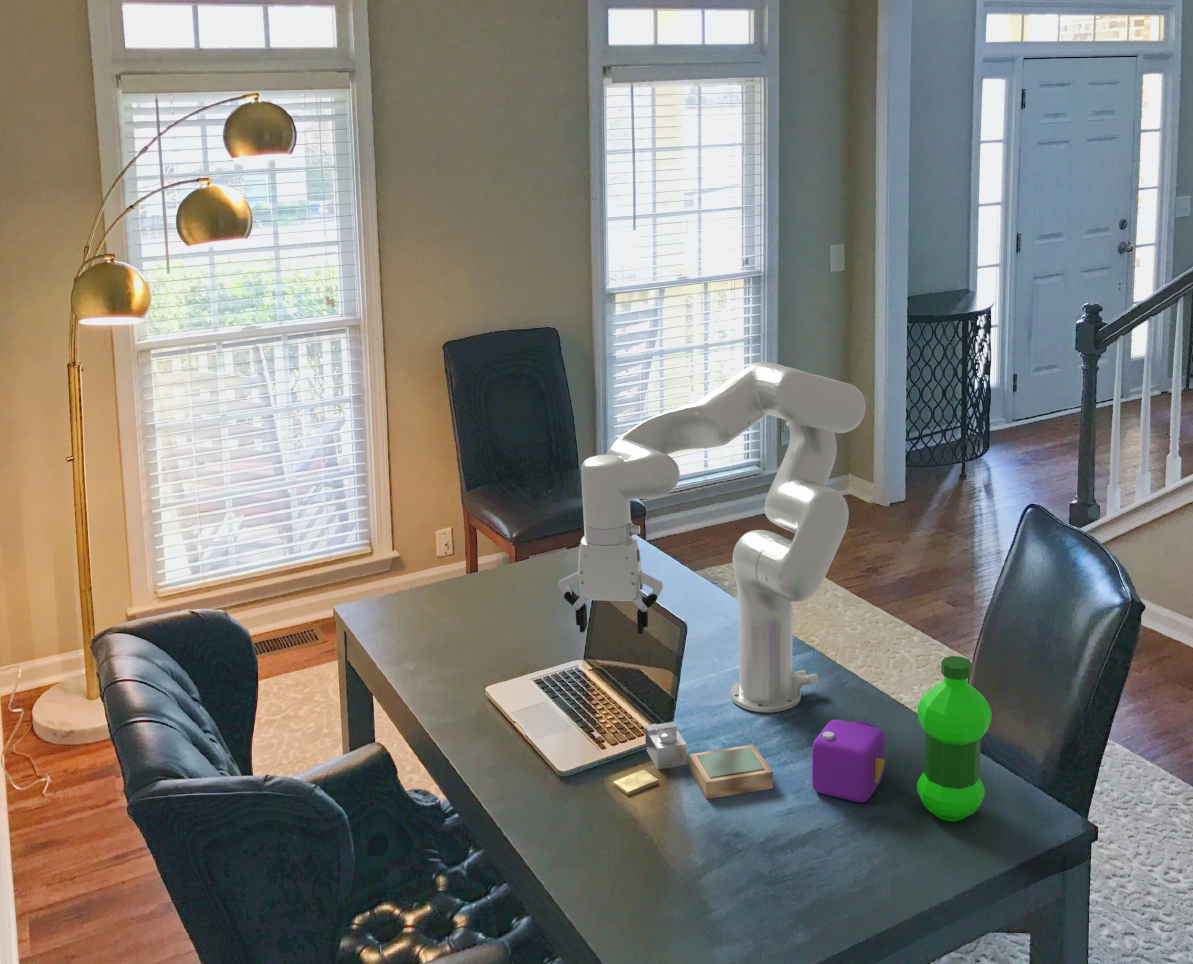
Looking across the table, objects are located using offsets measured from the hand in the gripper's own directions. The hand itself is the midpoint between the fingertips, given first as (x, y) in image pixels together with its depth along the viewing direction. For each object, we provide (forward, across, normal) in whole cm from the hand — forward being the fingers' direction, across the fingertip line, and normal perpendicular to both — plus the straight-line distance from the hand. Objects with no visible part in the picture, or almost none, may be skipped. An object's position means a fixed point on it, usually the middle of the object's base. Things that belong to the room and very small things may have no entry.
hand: (612, 629), depth 209 cm
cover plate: (+22, -5, +11) cm, 25 cm away
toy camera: (+22, -38, +7) cm, 45 cm away
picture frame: (+22, -20, +8) cm, 31 cm away
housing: (+22, -8, +2) cm, 24 cm away
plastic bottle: (+22, -53, +14) cm, 59 cm away
